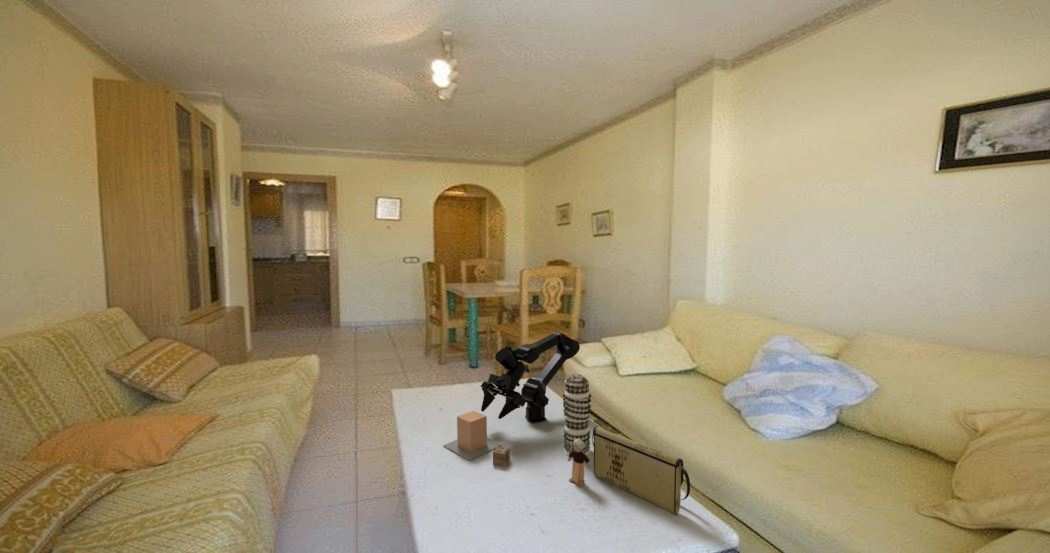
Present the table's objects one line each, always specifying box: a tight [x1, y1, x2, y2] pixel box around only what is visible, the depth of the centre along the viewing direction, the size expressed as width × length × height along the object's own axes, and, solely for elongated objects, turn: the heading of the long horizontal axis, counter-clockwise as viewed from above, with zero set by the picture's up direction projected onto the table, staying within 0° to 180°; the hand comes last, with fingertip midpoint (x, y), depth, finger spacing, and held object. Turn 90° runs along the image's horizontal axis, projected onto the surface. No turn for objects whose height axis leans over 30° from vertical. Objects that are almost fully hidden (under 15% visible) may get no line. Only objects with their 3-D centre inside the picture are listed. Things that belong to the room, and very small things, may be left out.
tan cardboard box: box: [456, 410, 488, 452], centre depth 148 cm, size 7×7×10 cm
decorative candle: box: [562, 374, 592, 457], centre depth 143 cm, size 9×9×25 cm
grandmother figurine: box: [567, 439, 592, 486], centre depth 125 cm, size 8×4×13 cm, turn 62°
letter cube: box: [492, 446, 511, 467], centre depth 138 cm, size 4×4×4 cm
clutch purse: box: [591, 426, 691, 516], centre depth 121 cm, size 30×7×15 cm, turn 43°
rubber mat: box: [442, 437, 502, 462], centre depth 148 cm, size 14×14×1 cm
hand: (490, 414), depth 153 cm, fingers open, 9 cm apart
